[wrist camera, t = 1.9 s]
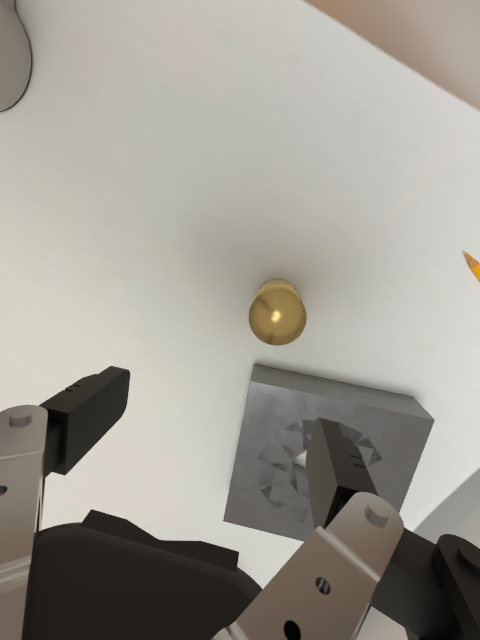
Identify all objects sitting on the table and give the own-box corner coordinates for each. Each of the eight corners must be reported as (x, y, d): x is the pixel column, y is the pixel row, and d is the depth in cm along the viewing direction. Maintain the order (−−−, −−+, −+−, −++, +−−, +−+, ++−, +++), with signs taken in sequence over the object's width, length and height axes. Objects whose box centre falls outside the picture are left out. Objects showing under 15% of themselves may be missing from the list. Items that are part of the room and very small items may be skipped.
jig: (253, 364, 30) (250, 380, 26) (412, 397, 28) (434, 419, 24) (229, 490, 33) (223, 521, 30) (368, 523, 32) (380, 560, 28)
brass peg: (260, 275, 27) (254, 284, 20) (301, 283, 27) (312, 295, 19) (252, 315, 28) (244, 339, 21) (292, 323, 28) (299, 350, 20)
